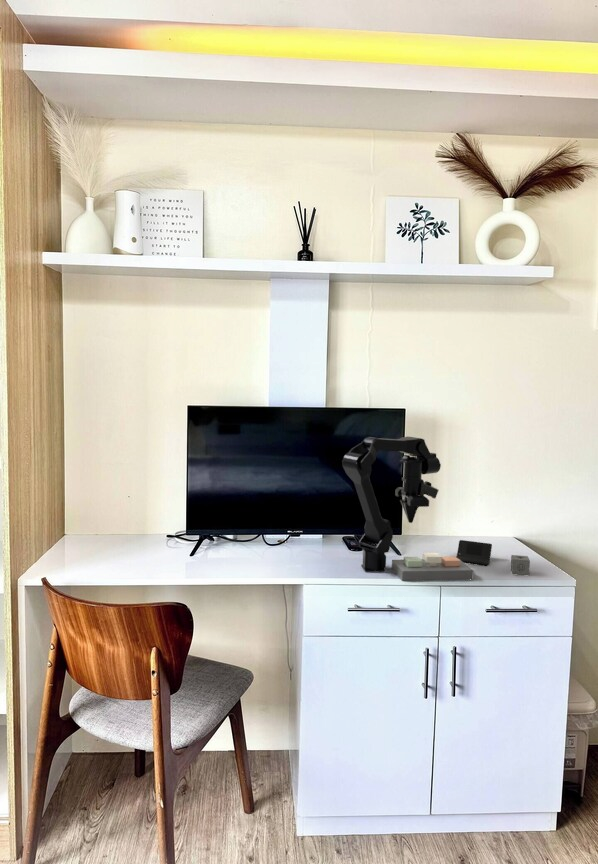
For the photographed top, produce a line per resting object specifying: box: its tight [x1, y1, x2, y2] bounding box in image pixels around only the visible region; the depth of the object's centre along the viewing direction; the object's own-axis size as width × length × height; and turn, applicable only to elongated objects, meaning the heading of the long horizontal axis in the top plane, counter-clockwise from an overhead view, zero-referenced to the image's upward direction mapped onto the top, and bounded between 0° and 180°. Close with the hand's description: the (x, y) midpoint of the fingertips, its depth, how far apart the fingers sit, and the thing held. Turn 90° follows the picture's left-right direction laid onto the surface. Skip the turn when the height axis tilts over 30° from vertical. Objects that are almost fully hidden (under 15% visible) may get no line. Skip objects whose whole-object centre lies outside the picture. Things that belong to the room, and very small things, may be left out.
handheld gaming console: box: [455, 539, 493, 567], centre depth 232 cm, size 12×7×10 cm
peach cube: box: [440, 555, 460, 566], centre depth 216 cm, size 5×5×5 cm
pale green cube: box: [403, 556, 423, 567], centre depth 215 cm, size 5×5×5 cm
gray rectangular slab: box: [391, 558, 474, 582], centre depth 216 cm, size 22×12×3 cm, turn 98°
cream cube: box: [421, 552, 442, 566], centre depth 215 cm, size 5×5×5 cm
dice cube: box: [510, 554, 531, 576], centre depth 219 cm, size 5×5×5 cm
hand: (410, 522), depth 228 cm, fingers closed
